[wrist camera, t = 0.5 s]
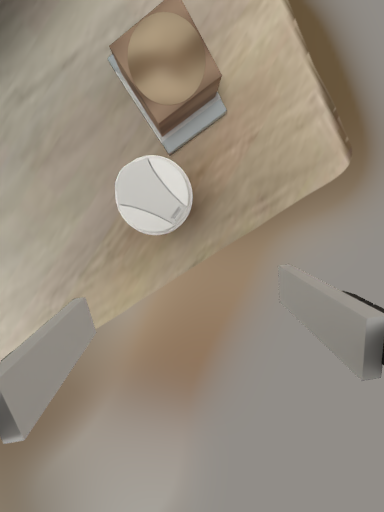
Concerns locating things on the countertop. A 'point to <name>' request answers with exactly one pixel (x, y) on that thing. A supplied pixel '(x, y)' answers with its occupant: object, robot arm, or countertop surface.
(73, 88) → the countertop surface
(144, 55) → the pedestal
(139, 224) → the coffee cup
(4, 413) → the robot arm
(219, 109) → the build plate
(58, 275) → the countertop surface
